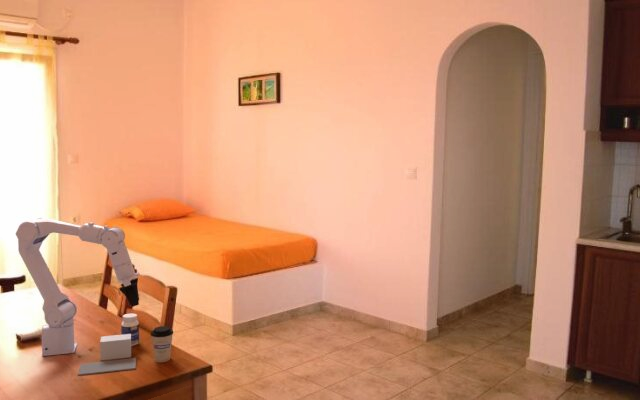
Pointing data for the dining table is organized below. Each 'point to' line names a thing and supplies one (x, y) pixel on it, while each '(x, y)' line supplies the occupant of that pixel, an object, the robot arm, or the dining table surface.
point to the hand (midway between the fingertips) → (135, 303)
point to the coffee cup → (162, 343)
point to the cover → (115, 347)
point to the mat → (107, 366)
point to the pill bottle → (131, 327)
